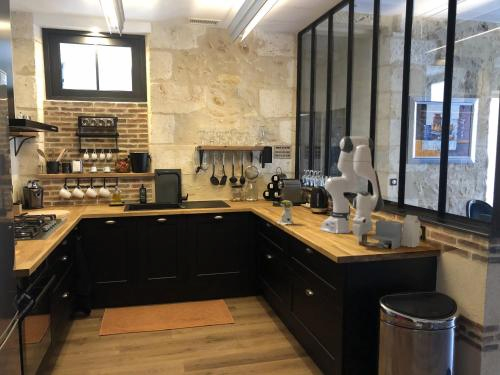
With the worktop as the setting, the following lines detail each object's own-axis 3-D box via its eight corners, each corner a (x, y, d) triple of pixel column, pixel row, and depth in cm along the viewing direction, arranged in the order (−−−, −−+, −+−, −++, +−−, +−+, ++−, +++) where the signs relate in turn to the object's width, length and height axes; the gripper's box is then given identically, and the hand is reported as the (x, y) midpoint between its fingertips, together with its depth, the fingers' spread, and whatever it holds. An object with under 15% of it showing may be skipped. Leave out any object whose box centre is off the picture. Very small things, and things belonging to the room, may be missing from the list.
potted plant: (284, 221, 324) (284, 198, 322) (297, 223, 315) (297, 200, 313) (274, 223, 316) (274, 200, 314) (287, 225, 307) (287, 201, 305)
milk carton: (412, 248, 240) (413, 216, 238) (401, 245, 246) (403, 215, 244) (419, 246, 245) (420, 215, 243) (408, 244, 250) (409, 214, 248)
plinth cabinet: (370, 245, 246) (371, 222, 244) (379, 242, 255) (380, 220, 254) (393, 249, 237) (394, 225, 235) (401, 245, 246) (402, 222, 245)
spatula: (358, 244, 248) (359, 235, 247) (360, 243, 251) (360, 233, 250) (387, 248, 239) (388, 238, 239) (388, 246, 243) (389, 237, 242)
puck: (376, 248, 240) (376, 245, 240) (377, 247, 243) (377, 244, 243) (382, 249, 238) (383, 246, 237) (384, 248, 241) (384, 245, 241)
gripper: (365, 215, 257) (365, 236, 258) (351, 220, 241) (350, 242, 243) (375, 216, 253) (374, 238, 254) (361, 221, 237) (360, 244, 238)
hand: (362, 240), depth 248 cm, fingers closed on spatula, 4 cm apart
